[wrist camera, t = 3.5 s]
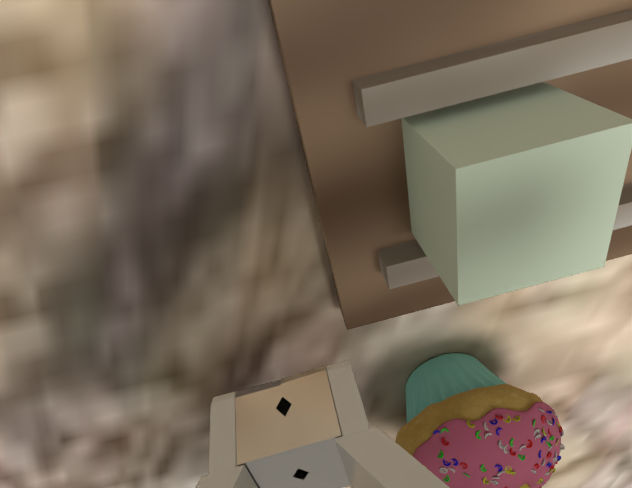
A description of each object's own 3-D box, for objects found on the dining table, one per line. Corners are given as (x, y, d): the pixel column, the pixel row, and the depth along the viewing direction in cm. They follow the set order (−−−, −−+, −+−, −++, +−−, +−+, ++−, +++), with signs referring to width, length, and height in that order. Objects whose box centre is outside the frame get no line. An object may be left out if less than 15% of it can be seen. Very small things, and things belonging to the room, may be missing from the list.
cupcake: (495, 306, 24) (684, 562, 14) (521, 389, 28) (676, 623, 18) (351, 371, 25) (431, 651, 15) (400, 441, 29) (485, 688, 20)
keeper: (528, 202, 18) (604, 266, 14) (411, 233, 18) (458, 305, 14) (539, 80, 15) (637, 121, 12) (401, 116, 15) (455, 169, 12)
